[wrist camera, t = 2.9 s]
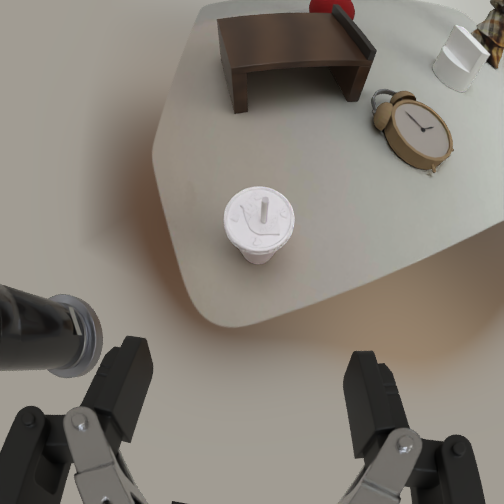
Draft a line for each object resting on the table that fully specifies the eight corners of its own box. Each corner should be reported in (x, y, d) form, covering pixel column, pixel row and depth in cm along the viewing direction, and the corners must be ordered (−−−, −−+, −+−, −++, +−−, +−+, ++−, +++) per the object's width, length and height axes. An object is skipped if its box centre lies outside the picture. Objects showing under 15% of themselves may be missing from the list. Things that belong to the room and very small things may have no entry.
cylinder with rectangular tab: (424, 62, 48) (444, 22, 37) (450, 64, 49) (470, 28, 37) (449, 92, 46) (474, 52, 34) (474, 92, 46) (498, 57, 35)
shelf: (234, 113, 43) (230, 56, 32) (221, 60, 47) (215, 9, 36) (358, 101, 44) (377, 50, 33) (328, 51, 48) (338, 4, 37)
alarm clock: (435, 176, 37) (363, 94, 37) (416, 187, 41) (350, 112, 42) (463, 141, 39) (401, 71, 39) (446, 153, 43) (388, 87, 44)
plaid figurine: (458, 42, 51) (510, -11, 27) (453, 24, 55) (497, -24, 31) (494, 76, 52) (548, 30, 29) (487, 54, 56) (532, 12, 33)
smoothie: (259, 287, 36) (262, 252, 22) (219, 250, 37) (200, 197, 23) (296, 248, 37) (318, 194, 23) (256, 213, 38) (257, 146, 25)
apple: (308, 32, 49) (314, -7, 40) (306, 13, 52) (310, -23, 42) (353, 39, 49) (363, 2, 40) (347, 19, 52) (355, -15, 42)
